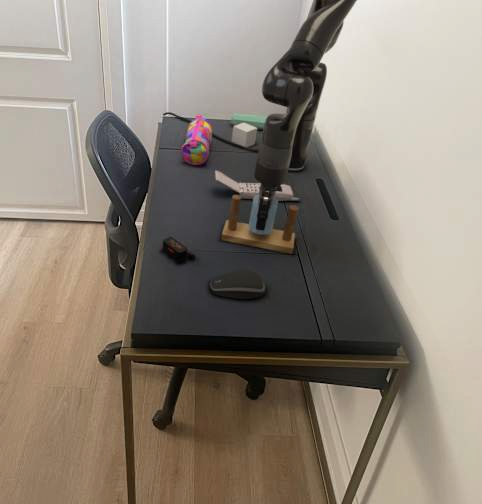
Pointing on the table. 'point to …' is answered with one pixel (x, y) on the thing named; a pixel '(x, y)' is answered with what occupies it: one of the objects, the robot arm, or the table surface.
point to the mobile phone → (254, 188)
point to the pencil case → (197, 141)
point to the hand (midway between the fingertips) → (261, 221)
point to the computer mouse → (238, 285)
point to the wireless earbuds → (176, 250)
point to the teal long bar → (249, 120)
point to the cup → (270, 214)
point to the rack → (271, 241)
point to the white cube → (244, 134)
